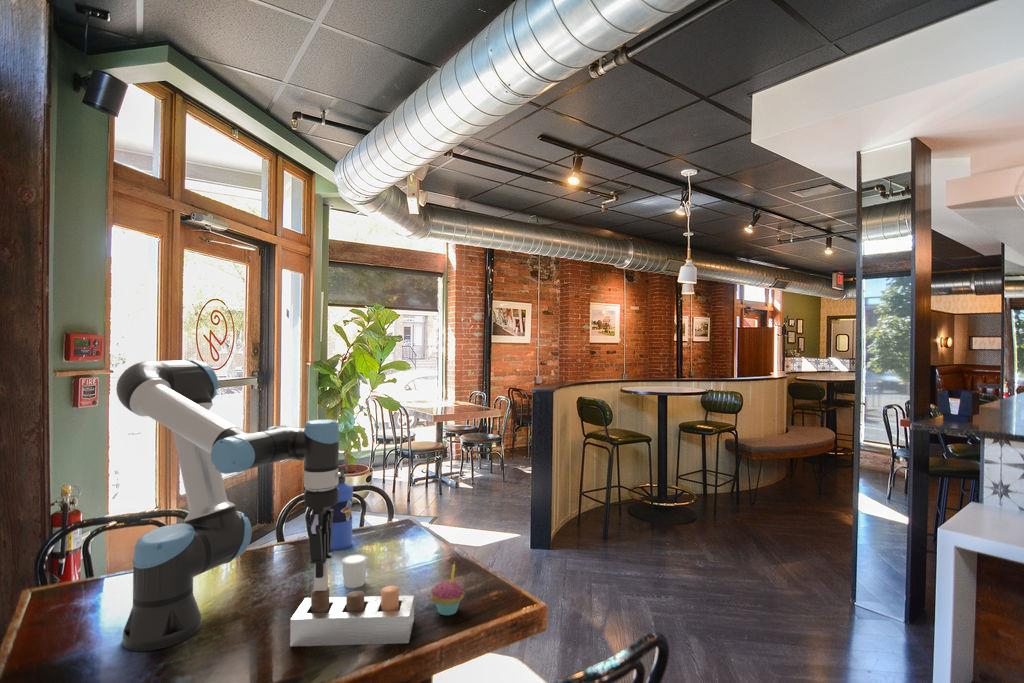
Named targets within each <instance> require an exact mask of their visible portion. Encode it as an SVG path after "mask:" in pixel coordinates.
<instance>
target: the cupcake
mask: <svg viewBox="0 0 1024 683" xmlns="http://www.w3.org/2000/svg"><path fill="white" fill-rule="evenodd" d="M455 571H456V561H454V562H453V564H452V568H451V575H450V580H447V579H446V580H443V581H440V582H439V583H436V584H435V585H434V586H433V587H432V588H431V592H430V593H431V594H430V599H431V601H432V602H434V603H435V605H436V609H437V612H438V613H439V615H442V616H452V615H455V614H456V613H457V612H458V609H459V605H460V603H461V600H463V599H464V598H465V595H466V594H465V587H464V586H463V585H462V584H461V583H460V582H458V581H454V577H455Z"/></svg>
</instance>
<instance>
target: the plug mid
mask: <svg viewBox="0 0 1024 683" xmlns="http://www.w3.org/2000/svg"><path fill="white" fill-rule="evenodd" d="M345 597H346V612H364V597H365V592H364V591H363V590H353V591H350V592H348V593H347V594H346V596H345Z"/></svg>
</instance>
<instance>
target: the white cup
mask: <svg viewBox="0 0 1024 683" xmlns="http://www.w3.org/2000/svg"><path fill="white" fill-rule="evenodd" d="M341 564H342V576H343V586H344V587H345V588H347V589H354V588H360V587H362V586H363V585H364V584H366V576H367V575H366V574H367V567H368V566H367V564H368V556H366V554H362V553H361V554H351V555H347V556H344V557H343V558H342V560H341Z"/></svg>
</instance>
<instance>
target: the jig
mask: <svg viewBox="0 0 1024 683" xmlns="http://www.w3.org/2000/svg"><path fill="white" fill-rule="evenodd" d="M414 621H415V595H399V611H381V596H379V595H377V596H375V595H374V596H370V595H369V596H364V612H346V596H335V597H334V596H333V597H332V596H329V612H328V613H311V597H304V599H303V601H302V602H301V603H300V605H299V606H298V608H297V609H296V611H295V612H294V613H293V615H292V617H290V620H289V622H290V631H289V632H290V633H289V635H290V636H289V638H290V642H289V646H290V647H291V648H292V647H317V646H319V647H320V646H321V647H322V646H323V647H324V646H326V647H327V646H350V645H351V646H352V645H353V646H356V645H358V646H359V645H361V646H362V645H388V644H389V645H390V644H409V643H410V639H411V635H412V632H413V631H412V630H413V626H414Z"/></svg>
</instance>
